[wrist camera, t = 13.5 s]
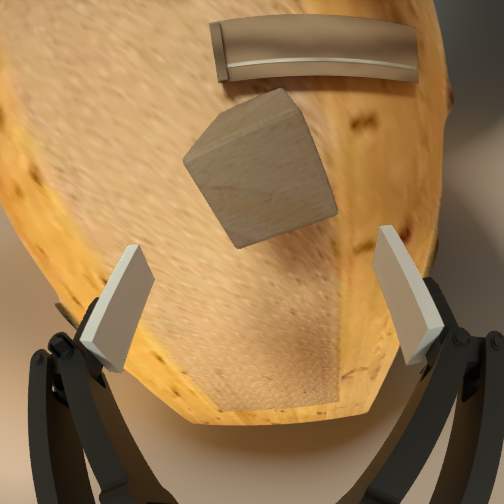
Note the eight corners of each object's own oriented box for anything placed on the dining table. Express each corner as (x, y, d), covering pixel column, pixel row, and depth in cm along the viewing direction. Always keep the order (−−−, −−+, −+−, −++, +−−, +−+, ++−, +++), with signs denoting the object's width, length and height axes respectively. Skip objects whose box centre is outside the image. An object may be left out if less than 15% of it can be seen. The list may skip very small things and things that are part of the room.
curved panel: (212, 25, 27) (207, 22, 24) (407, 28, 24) (418, 27, 22) (221, 82, 33) (217, 83, 30) (410, 81, 30) (421, 84, 27)
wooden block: (308, 146, 38) (340, 216, 23) (247, 170, 41) (236, 252, 26) (282, 86, 33) (299, 106, 17) (217, 114, 36) (178, 160, 20)
